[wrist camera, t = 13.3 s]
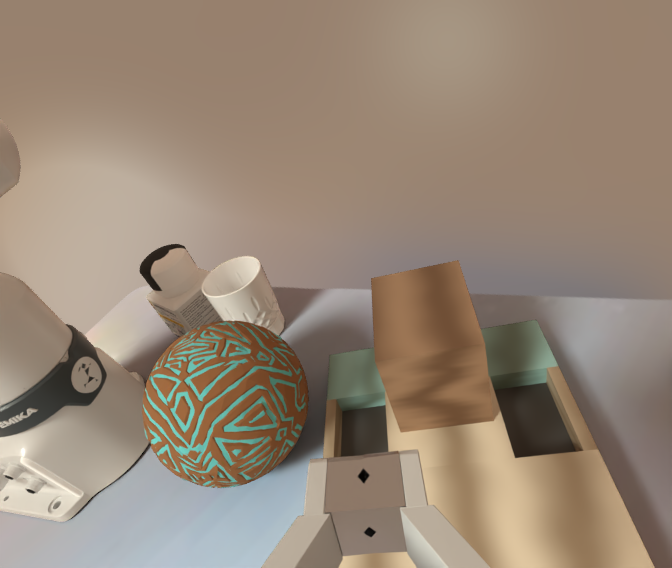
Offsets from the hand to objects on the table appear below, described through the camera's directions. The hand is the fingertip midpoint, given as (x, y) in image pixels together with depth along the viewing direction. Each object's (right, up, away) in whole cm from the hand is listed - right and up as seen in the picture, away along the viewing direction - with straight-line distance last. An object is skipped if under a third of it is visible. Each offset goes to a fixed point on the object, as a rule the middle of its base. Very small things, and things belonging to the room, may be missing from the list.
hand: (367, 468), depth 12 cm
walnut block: (+9, -4, +29) cm, 30 cm away
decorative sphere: (-9, -12, +33) cm, 36 cm away
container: (-20, -1, +52) cm, 55 cm away
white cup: (-11, -1, +46) cm, 48 cm away
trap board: (+9, -10, +25) cm, 29 cm away
